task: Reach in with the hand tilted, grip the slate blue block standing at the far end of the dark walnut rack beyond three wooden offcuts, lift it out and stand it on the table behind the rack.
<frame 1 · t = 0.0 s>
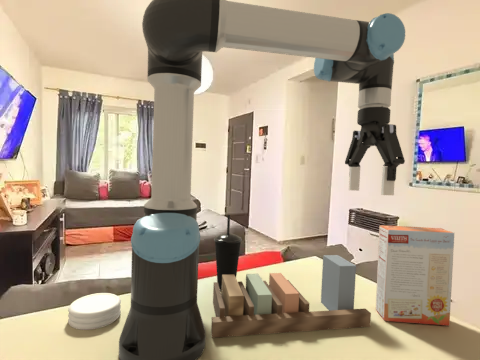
hand: (369, 192, 74), 28 cm above the table, tool pointing down, fingers open, 13 cm apart
terracotta offcut: (281, 312, 68), resting in rack
oak offcut: (230, 314, 65), resting in rack
slate blue block: (336, 309, 70), on the table
rack: (282, 312, 67), on the table
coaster: (95, 319, 62), on the table
drinking cup: (226, 287, 80), on the table
cracker box: (410, 318, 67), on the table
sage offcut: (256, 313, 66), resting in rack
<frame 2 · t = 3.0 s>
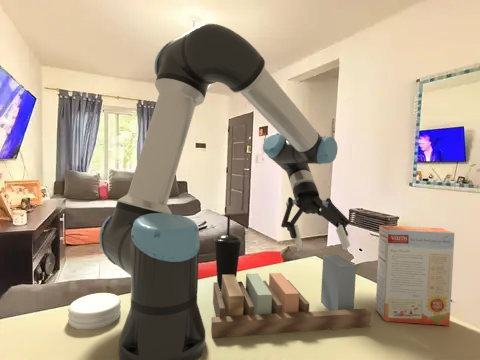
hand: (323, 248, 78), 12 cm above the table, tool tilted 45°, fingers open, 13 cm apart
nothing on the table moved.
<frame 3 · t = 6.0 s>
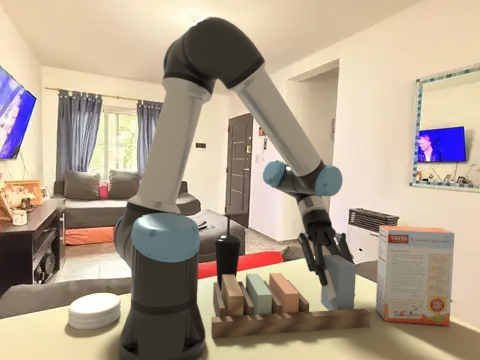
hand: (342, 298, 67), 4 cm above the table, tool tilted 45°, fingers closed on slate blue block, 4 cm apart
slate blue block: (336, 309, 70), on the table, touching gripper
everything else where it was.
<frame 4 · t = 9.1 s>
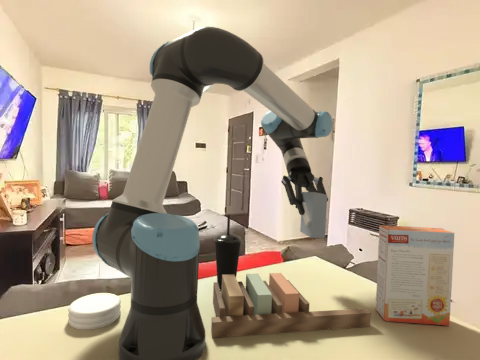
hand: (316, 223, 82), 18 cm above the table, tool tilted 45°, fingers closed on slate blue block, 4 cm apart
slate blue block: (312, 234, 84), point 15 cm above the table, touching gripper
everything else where it was.
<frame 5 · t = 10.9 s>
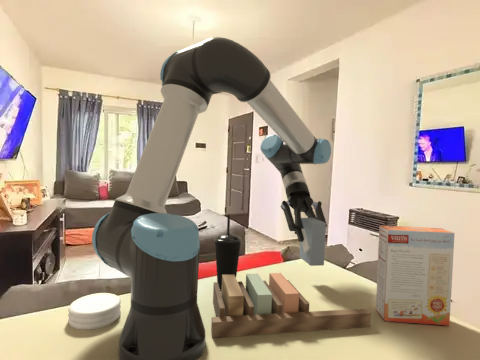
hand: (315, 250, 83), 10 cm above the table, tool tilted 45°, fingers closed on slate blue block, 4 cm apart
slate blue block: (311, 260, 85), point 7 cm above the table, touching gripper
everything else where it was.
when the fingers open (5 cm above the table, at t = 12.4 s): slate blue block drops 1 cm, on the table.
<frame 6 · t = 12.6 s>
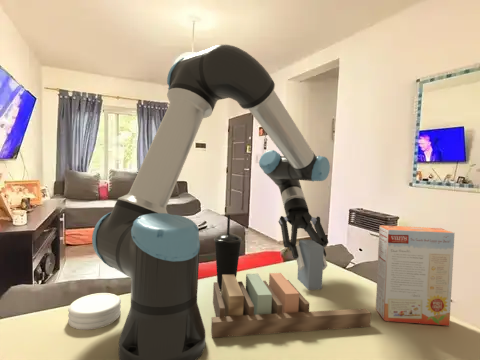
hand: (313, 267, 82), 5 cm above the table, tool tilted 45°, fingers open, 6 cm apart
slate blue block: (309, 283, 85), on the table
everything else where it was.
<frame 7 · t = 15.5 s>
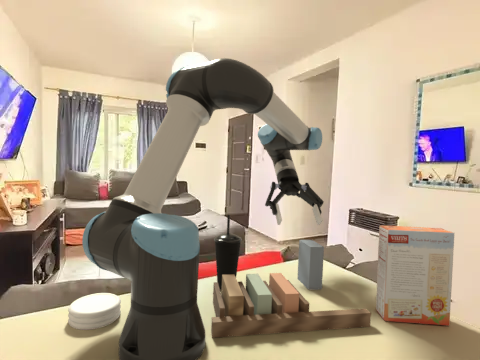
hand: (300, 222, 93), 16 cm above the table, tool tilted 45°, fingers open, 13 cm apart
nothing on the table moved.
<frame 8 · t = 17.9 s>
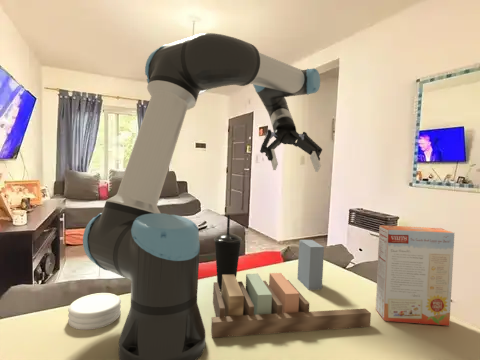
hand: (297, 168, 87), 34 cm above the table, tool tilted 45°, fingers open, 13 cm apart
nothing on the table moved.
at the end: slate blue block inside the target area (0.2 cm from its centre), on the table; slate blue block tilted 0°; the gripper is holding nothing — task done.
